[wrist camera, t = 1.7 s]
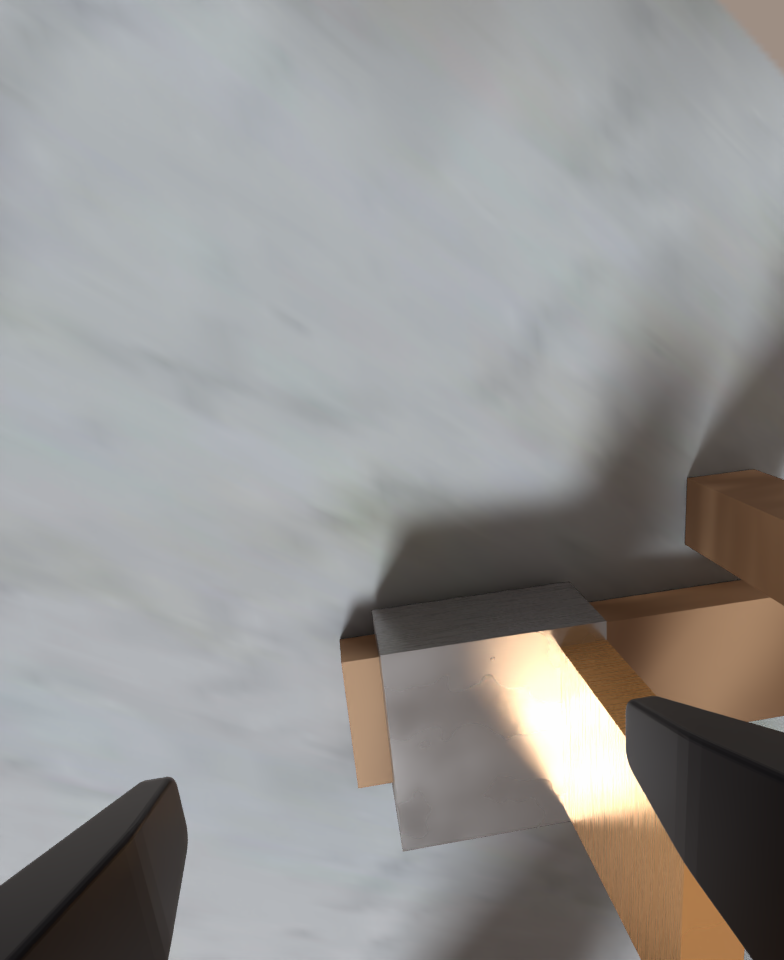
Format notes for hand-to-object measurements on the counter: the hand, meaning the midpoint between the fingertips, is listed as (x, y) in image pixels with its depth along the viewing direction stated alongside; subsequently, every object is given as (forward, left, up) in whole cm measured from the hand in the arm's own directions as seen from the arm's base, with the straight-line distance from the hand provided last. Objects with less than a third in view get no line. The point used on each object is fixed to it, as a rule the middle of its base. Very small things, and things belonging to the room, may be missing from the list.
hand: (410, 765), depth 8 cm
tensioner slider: (+2, -8, -12) cm, 15 cm away
